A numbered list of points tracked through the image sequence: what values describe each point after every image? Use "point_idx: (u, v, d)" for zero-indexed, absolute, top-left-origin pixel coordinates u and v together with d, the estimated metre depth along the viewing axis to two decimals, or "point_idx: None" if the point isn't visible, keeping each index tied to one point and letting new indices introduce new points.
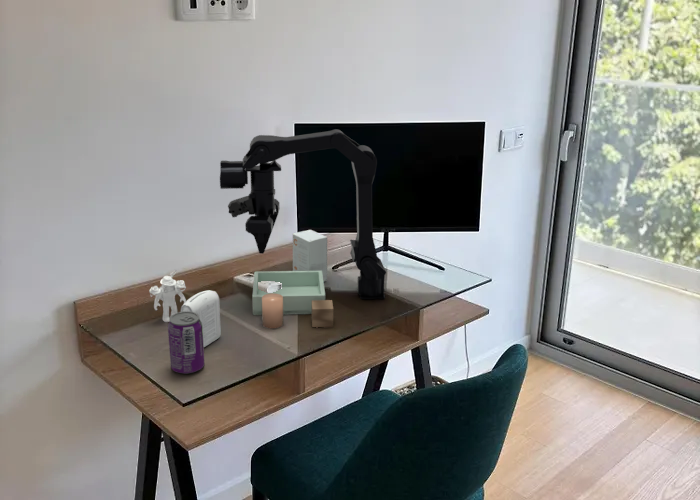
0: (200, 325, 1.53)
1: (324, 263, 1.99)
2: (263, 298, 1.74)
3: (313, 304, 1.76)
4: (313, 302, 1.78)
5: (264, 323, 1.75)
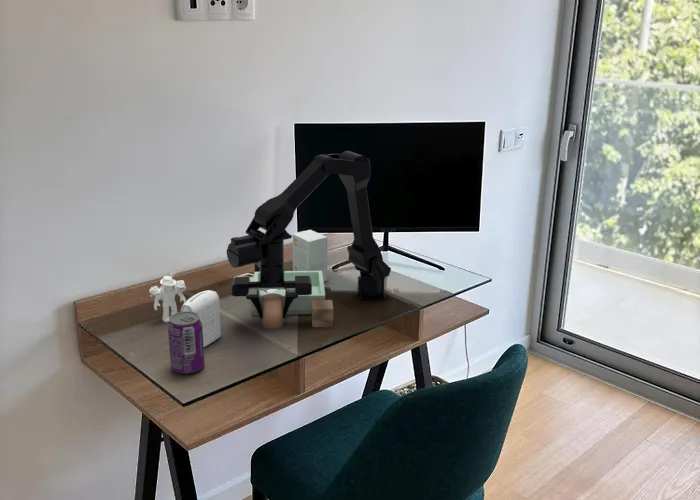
0: (200, 325, 1.53)
1: (324, 263, 1.99)
2: (263, 298, 1.74)
3: (313, 304, 1.76)
4: (313, 302, 1.78)
5: (264, 323, 1.75)
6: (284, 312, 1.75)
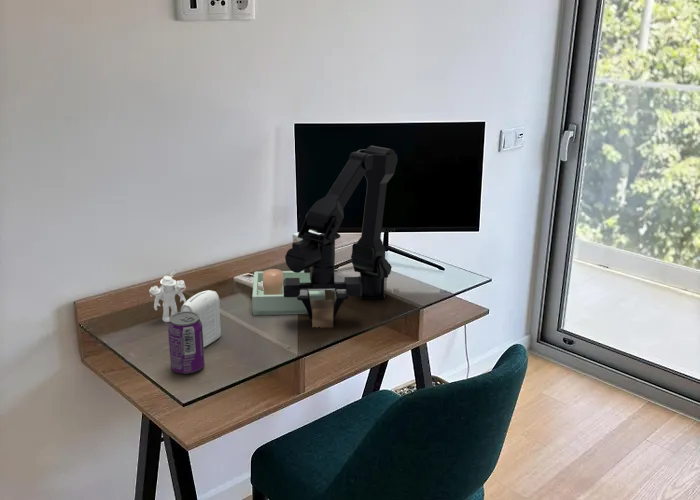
0: (200, 325, 1.53)
1: None
2: (274, 275, 1.84)
3: (313, 304, 1.76)
4: (313, 302, 1.78)
5: None
6: (334, 313, 1.76)
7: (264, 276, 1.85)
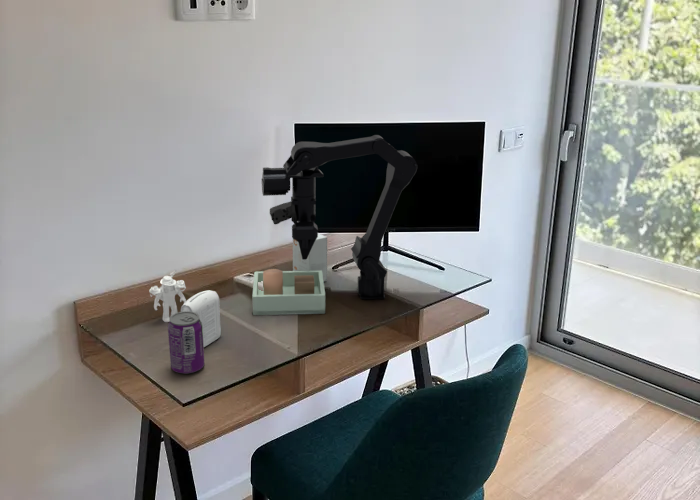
0: (200, 325, 1.53)
1: (324, 263, 1.99)
2: (274, 275, 1.84)
3: (303, 282, 1.86)
4: (299, 282, 1.86)
5: None
6: None
7: (264, 276, 1.85)
